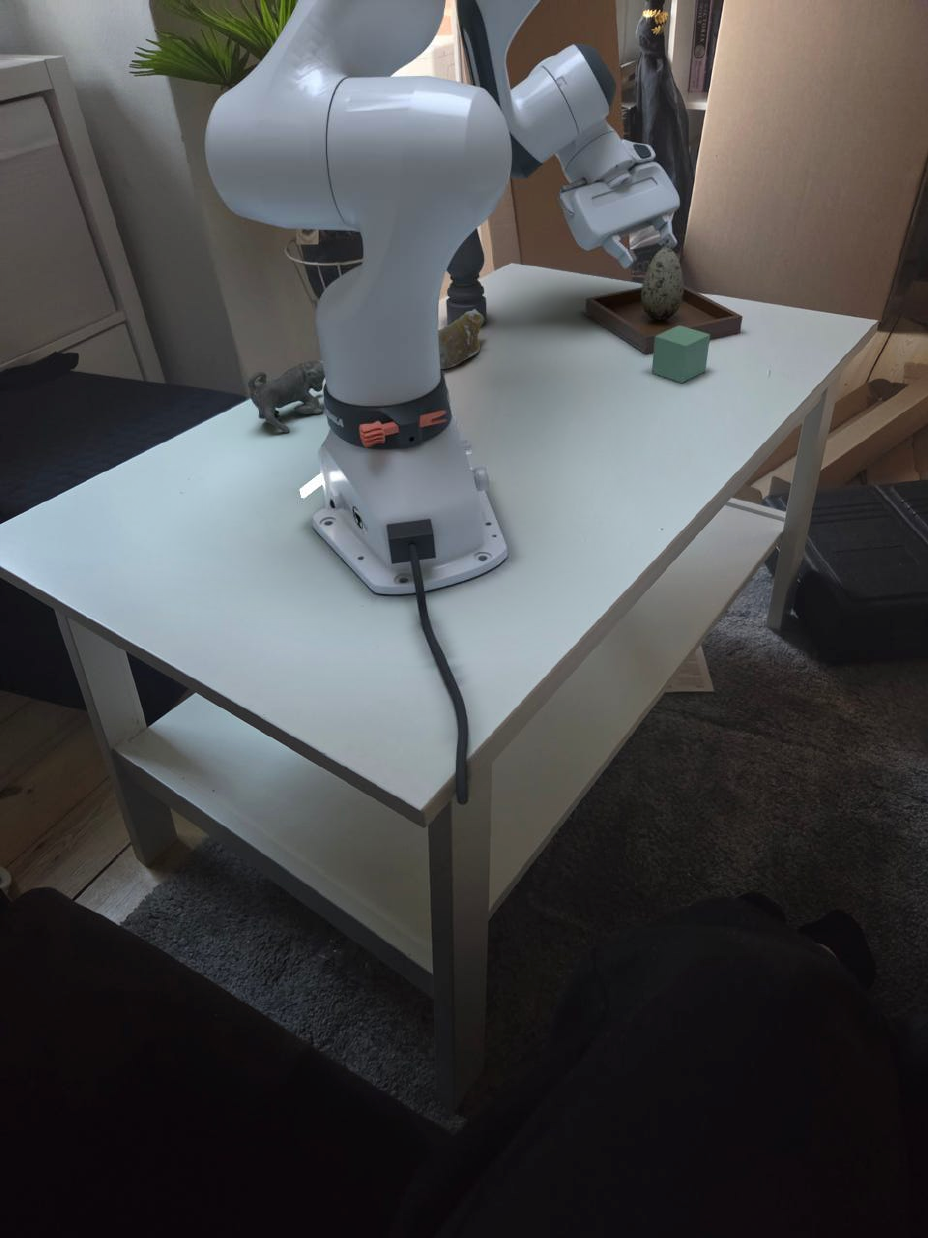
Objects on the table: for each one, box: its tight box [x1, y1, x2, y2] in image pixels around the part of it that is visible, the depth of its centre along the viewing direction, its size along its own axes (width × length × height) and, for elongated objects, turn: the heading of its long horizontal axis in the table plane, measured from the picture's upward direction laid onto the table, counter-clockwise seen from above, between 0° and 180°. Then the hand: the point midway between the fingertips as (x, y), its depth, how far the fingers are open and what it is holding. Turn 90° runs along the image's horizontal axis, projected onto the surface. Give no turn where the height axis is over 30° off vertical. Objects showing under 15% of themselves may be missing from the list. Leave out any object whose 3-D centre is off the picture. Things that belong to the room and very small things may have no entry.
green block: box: [651, 325, 711, 384], centre depth 110 cm, size 5×5×5 cm
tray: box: [585, 284, 743, 355], centre depth 124 cm, size 18×16×2 cm
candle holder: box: [445, 227, 488, 327], centre depth 122 cm, size 6×6×25 cm
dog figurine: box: [247, 360, 325, 433], centre depth 106 cm, size 12×6×7 cm, turn 138°
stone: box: [438, 309, 484, 370], centre depth 118 cm, size 7×6×15 cm
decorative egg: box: [641, 248, 685, 320], centre depth 121 cm, size 6×6×10 cm
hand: (651, 256), depth 121 cm, fingers open, 8 cm apart
